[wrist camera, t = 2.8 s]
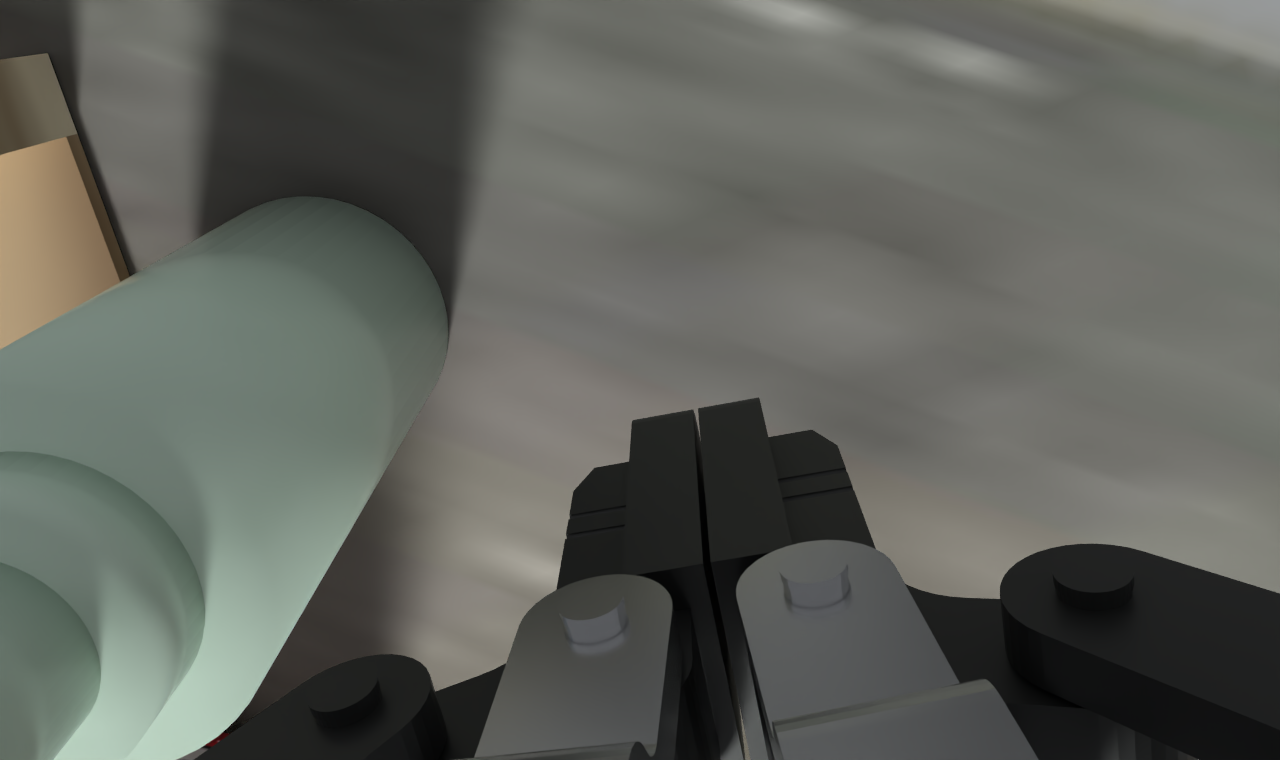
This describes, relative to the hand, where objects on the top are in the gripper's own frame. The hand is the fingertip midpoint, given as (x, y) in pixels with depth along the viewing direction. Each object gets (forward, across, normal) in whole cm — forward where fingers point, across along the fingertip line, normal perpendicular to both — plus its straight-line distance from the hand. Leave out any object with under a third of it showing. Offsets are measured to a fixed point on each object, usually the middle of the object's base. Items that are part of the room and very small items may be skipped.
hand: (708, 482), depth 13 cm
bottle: (+9, +8, 0) cm, 12 cm away
